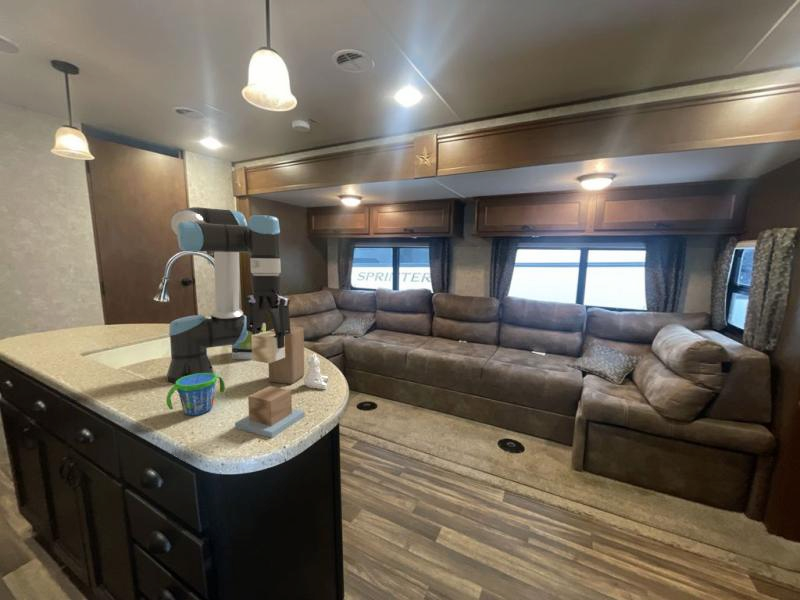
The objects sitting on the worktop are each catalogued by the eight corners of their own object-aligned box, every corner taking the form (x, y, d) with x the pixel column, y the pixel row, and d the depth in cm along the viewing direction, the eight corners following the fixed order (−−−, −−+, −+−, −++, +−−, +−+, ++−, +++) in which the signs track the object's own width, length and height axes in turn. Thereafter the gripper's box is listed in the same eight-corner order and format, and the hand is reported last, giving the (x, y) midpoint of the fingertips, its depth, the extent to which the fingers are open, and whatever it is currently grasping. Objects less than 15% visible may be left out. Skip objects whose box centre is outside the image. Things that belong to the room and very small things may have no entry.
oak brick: (252, 360, 90) (251, 335, 89) (268, 354, 95) (268, 331, 94) (269, 363, 87) (268, 337, 86) (285, 357, 93) (284, 333, 92)
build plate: (235, 427, 90) (235, 422, 90) (270, 408, 102) (270, 403, 102) (272, 437, 85) (272, 432, 85) (304, 416, 97) (304, 411, 97)
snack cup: (174, 426, 90) (171, 390, 89) (162, 414, 97) (160, 381, 96) (232, 407, 102) (231, 376, 101) (218, 398, 109) (217, 368, 108)
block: (292, 385, 121) (290, 331, 118) (268, 382, 123) (266, 330, 120) (305, 375, 131) (304, 326, 128) (282, 373, 132) (281, 325, 130)
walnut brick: (249, 420, 91) (248, 396, 90) (270, 408, 98) (269, 386, 98) (271, 426, 88) (270, 401, 87) (291, 413, 95) (291, 390, 95)
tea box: (253, 360, 150) (252, 328, 148) (231, 359, 150) (230, 328, 148) (267, 351, 165) (266, 322, 163) (247, 350, 165) (246, 321, 163)
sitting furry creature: (326, 390, 117) (326, 357, 115) (301, 391, 115) (301, 358, 114) (328, 380, 126) (328, 350, 124) (305, 381, 125) (304, 350, 123)
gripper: (228, 274, 88) (232, 357, 91) (284, 276, 81) (286, 366, 84) (250, 273, 95) (253, 350, 98) (303, 275, 88) (305, 358, 91)
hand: (269, 357), depth 91 cm, fingers closed on oak brick, 6 cm apart
